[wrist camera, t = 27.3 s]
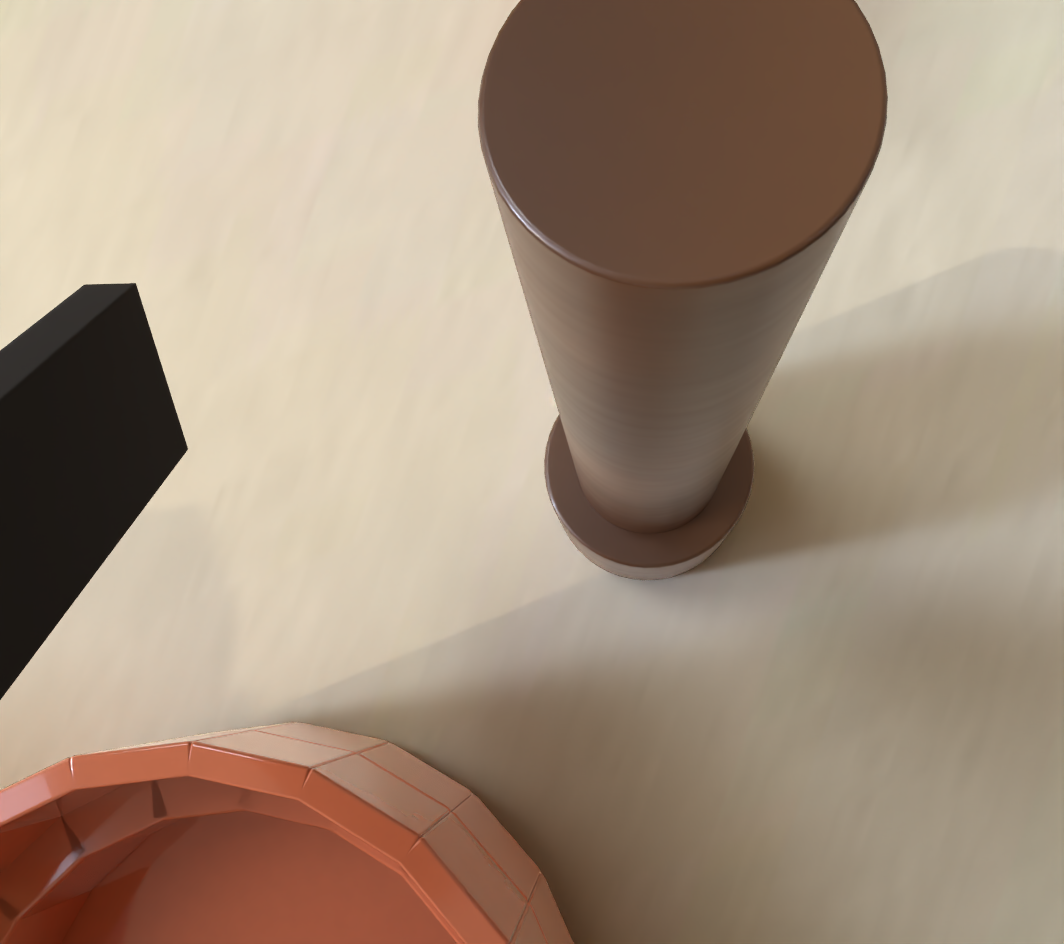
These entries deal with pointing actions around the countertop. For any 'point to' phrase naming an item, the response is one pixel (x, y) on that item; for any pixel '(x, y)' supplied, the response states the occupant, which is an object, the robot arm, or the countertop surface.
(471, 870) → the bowl
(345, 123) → the countertop surface
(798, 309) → the brown pestle
